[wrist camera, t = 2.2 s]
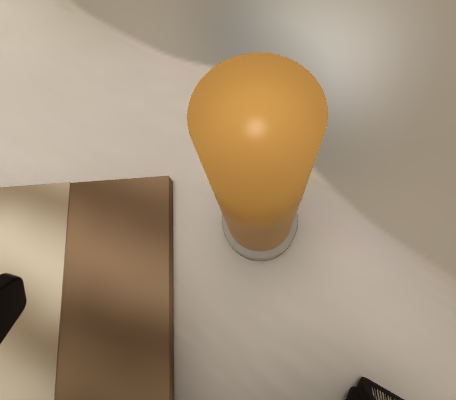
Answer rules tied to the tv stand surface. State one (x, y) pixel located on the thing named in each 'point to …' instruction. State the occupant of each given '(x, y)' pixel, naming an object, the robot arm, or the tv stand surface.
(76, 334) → the subfloor panel
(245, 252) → the orange rounded post
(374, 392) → the electric trimmer
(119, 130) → the tv stand surface
